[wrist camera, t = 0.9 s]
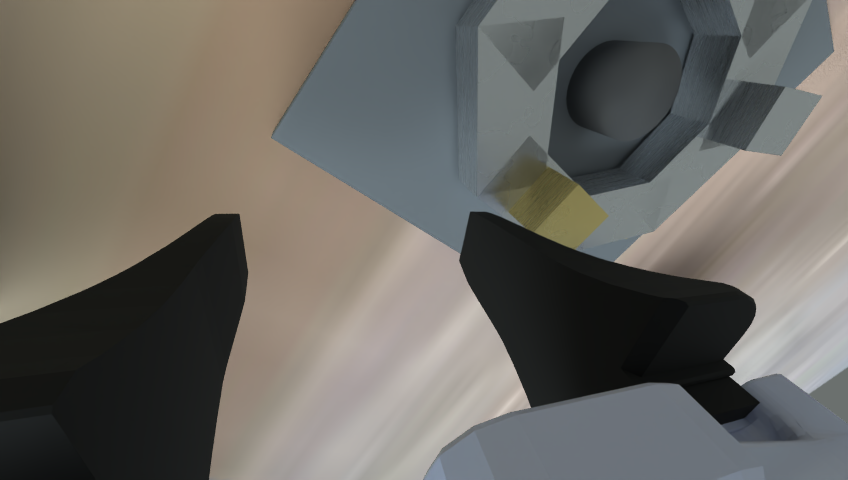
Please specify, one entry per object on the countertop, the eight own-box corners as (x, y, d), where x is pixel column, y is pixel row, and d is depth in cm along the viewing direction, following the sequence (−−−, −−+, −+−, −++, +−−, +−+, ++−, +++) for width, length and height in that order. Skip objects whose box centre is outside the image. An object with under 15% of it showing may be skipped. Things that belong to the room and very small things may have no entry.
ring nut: (779, 61, 17) (887, 69, 14) (571, 266, 21) (620, 310, 17) (682, -293, 10) (867, -447, 6) (386, 122, 13) (411, 153, 10)
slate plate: (815, 50, 19) (892, 54, 16) (552, 305, 24) (580, 338, 21) (701, -557, 8) (868, -802, 6) (272, 132, 13) (265, 156, 11)
